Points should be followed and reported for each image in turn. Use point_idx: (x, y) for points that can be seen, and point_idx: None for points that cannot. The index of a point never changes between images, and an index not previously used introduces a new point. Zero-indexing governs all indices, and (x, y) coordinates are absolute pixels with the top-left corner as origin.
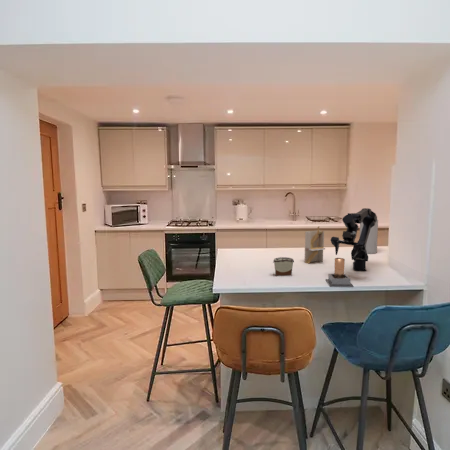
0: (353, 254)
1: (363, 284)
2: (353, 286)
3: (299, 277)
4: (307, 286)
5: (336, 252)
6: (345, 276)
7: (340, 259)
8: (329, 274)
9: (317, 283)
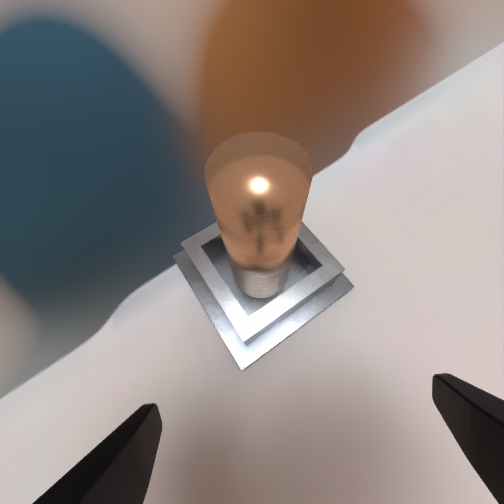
0: (119, 440)
1: (133, 341)
2: (173, 257)
3: (497, 251)
4: (354, 155)
5: (464, 392)
6: (228, 288)
7: (241, 155)
8: (329, 255)
9: (349, 212)
